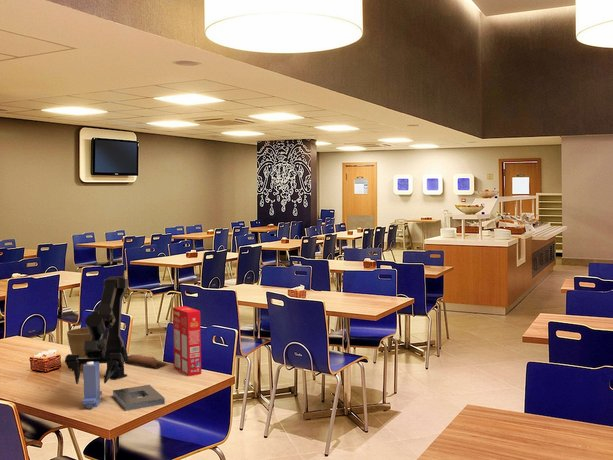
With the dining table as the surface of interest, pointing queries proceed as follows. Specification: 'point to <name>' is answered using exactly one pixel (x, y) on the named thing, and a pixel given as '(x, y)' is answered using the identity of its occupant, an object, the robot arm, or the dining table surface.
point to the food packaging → (187, 340)
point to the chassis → (130, 402)
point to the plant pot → (78, 341)
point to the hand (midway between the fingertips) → (90, 383)
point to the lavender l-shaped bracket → (91, 384)
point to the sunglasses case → (145, 361)
